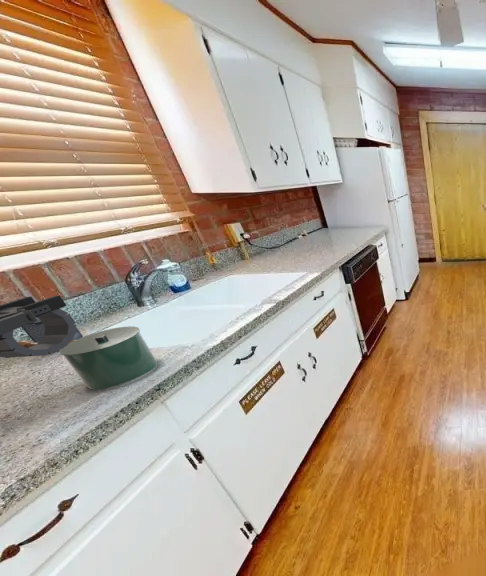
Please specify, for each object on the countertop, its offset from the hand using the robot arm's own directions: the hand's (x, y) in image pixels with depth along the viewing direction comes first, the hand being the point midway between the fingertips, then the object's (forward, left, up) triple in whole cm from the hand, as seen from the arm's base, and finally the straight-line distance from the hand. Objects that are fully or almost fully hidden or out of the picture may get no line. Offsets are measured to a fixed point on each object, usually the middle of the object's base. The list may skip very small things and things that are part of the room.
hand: (47, 301), depth 68 cm
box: (-47, -10, -28) cm, 55 cm away
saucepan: (-13, -2, -28) cm, 31 cm away
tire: (+4, -4, -10) cm, 12 cm away
